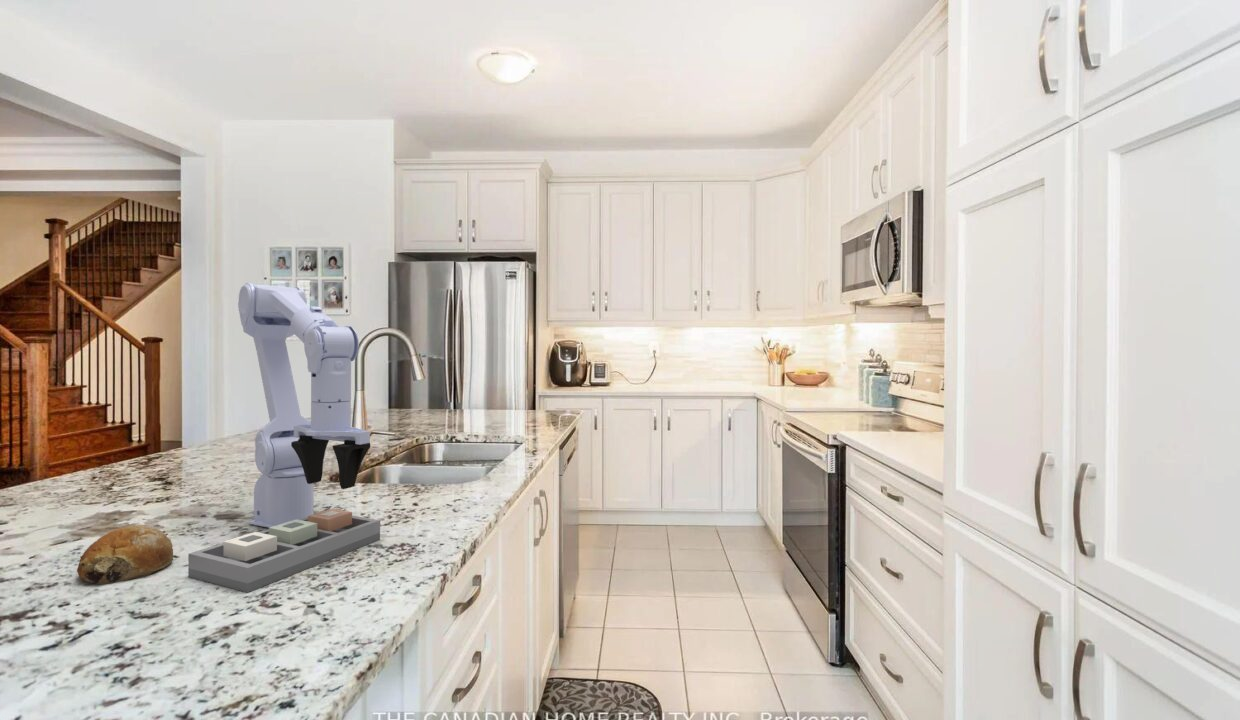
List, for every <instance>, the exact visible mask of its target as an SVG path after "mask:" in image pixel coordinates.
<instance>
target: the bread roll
mask: <svg viewBox="0 0 1240 720" xmlns="http://www.w3.org/2000/svg"><path fill="white" fill-rule="evenodd" d="M174 557H175V556H174V549H173V542H172V540H171V538H169V537H168V536H167V535H166V533H164V532H162V531H161V530H160V529H158V528H156V527H153V526H149V525H143V524H139V525H138V524H136V525H126V526H123V527H122V526H121V527H118V528H116V529H114V530H111V531H109V532H107V533H106V534H104V535H101V536H100V537H99V538H98V539H97V540H95V541H93V543H91V544H90V545H89V546H88V547H87V549H85V551H84V552H83V553H82V555H81V556H80V558H79V559H80V561H79V563H78V566H77V570H76V572H77V574H78V577H79V578H80V580H82V582H84V583H89V584H98V585H101V584H103V585H104V584H111V583H117V582H118V583H119V582H125V581H129V580H133V579H137V578H142V577H146V576H149V575H151V574H152V573H153V574H154V573H155V572H158V571H161V570H163V569H165V568H166V567H168V566H169V565H171V563H172V562H173V561H174ZM172 560H173V561H172Z"/></svg>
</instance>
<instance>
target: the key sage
mask: <svg viewBox="0 0 1240 720" xmlns="http://www.w3.org/2000/svg"><path fill="white" fill-rule="evenodd" d="M268 529H269V535H274V536H277V542H281V543H286V544H291V545H293V544H296V543H299V542H302V541H305V540H308V539H311V538H314V537H316V536H317V523H313V522H308V521H302V520H297V519H296V520H293V521H289V522H286V523H283V524H280V525H276V526H273V527H270V528H268Z"/></svg>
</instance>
